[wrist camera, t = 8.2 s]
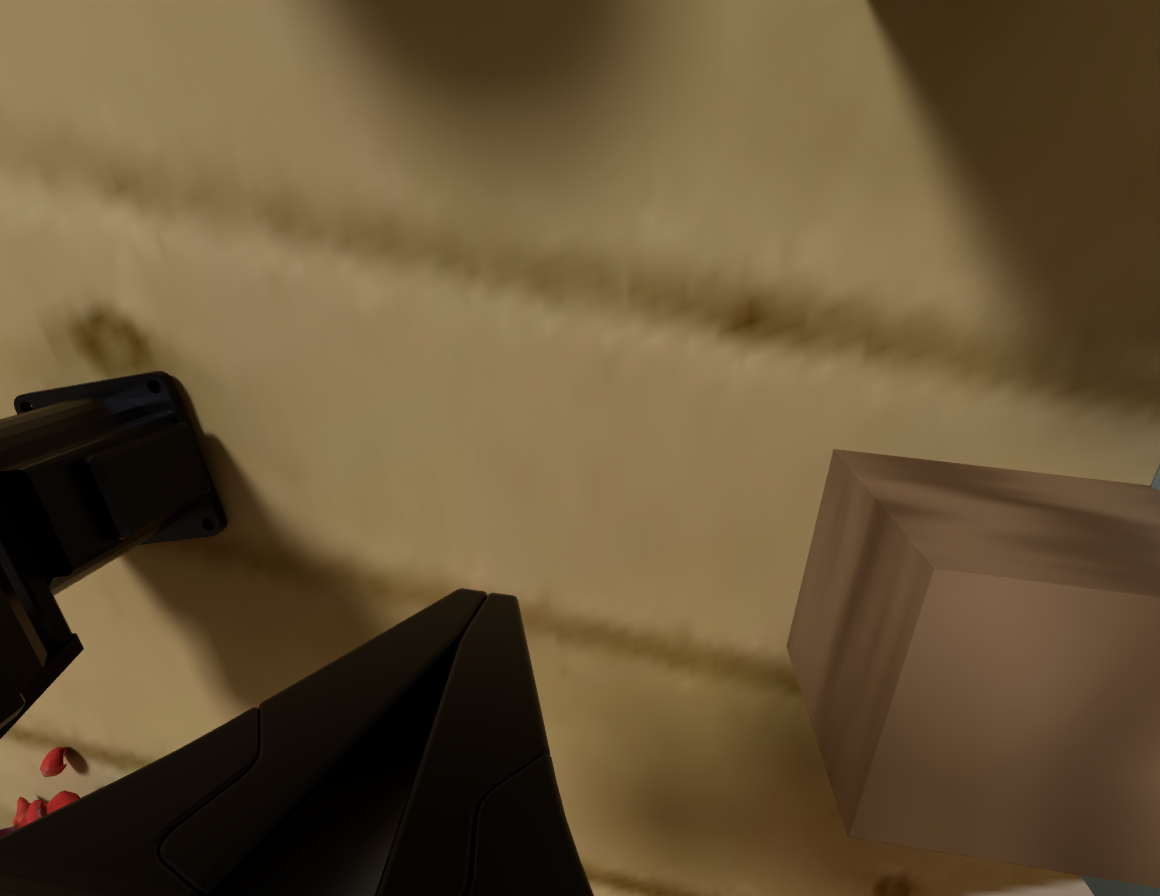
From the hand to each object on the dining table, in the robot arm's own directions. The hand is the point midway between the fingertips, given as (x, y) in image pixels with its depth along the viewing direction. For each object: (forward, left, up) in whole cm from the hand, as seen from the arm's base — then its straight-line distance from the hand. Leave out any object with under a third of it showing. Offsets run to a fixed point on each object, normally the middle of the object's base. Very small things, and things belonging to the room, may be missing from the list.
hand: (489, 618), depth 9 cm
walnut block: (+12, -8, -13) cm, 20 cm away
